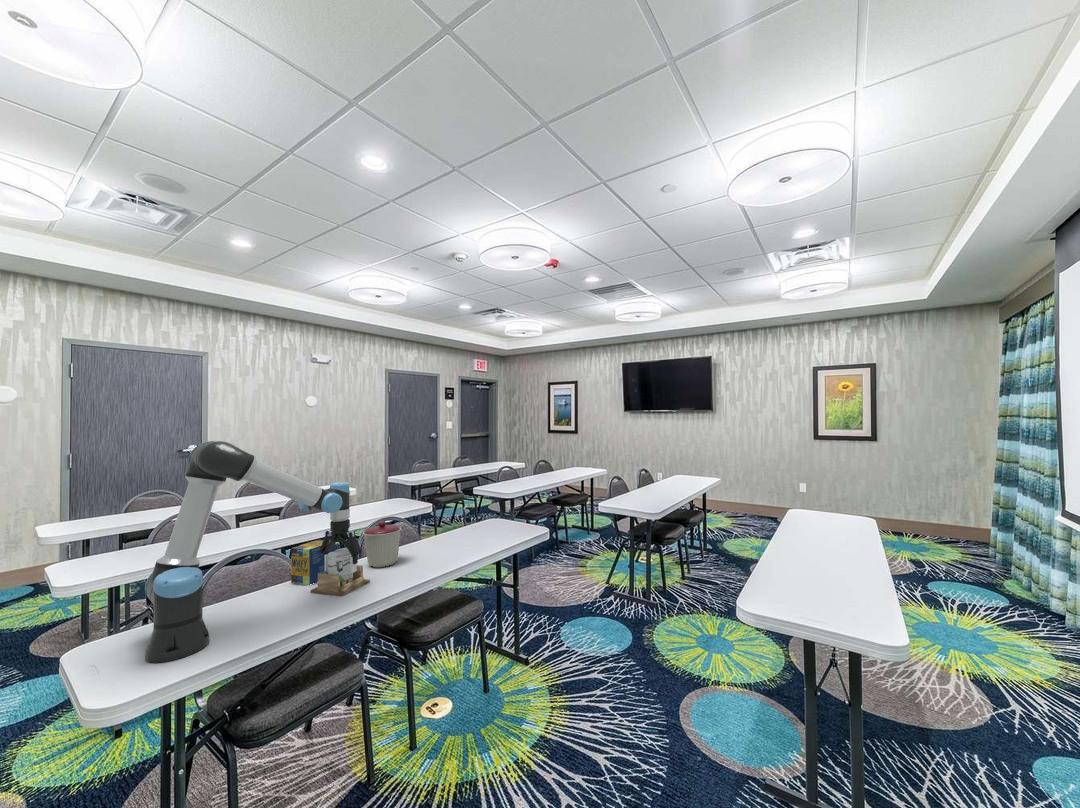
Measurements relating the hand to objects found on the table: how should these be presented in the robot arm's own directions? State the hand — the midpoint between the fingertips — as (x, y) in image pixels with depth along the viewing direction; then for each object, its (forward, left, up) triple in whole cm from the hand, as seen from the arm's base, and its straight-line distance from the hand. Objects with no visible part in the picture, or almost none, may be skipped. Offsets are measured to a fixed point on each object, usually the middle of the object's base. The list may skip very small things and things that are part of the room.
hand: (340, 570), depth 184 cm
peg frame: (0, 0, -7) cm, 7 cm away
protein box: (+6, +21, -7) cm, 23 cm away
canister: (+31, +4, -7) cm, 32 cm away
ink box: (0, 0, -4) cm, 4 cm away
